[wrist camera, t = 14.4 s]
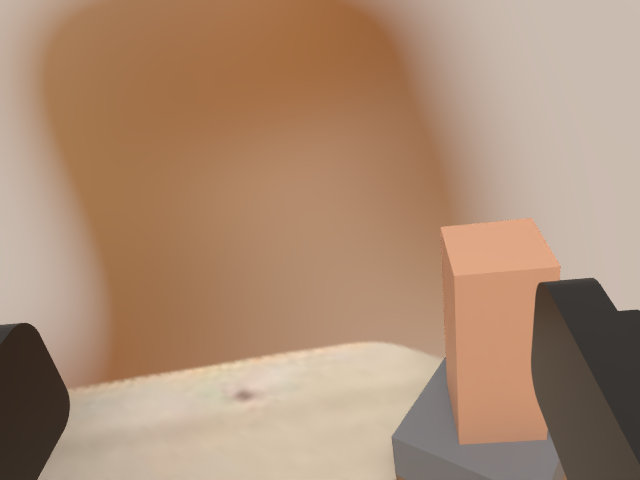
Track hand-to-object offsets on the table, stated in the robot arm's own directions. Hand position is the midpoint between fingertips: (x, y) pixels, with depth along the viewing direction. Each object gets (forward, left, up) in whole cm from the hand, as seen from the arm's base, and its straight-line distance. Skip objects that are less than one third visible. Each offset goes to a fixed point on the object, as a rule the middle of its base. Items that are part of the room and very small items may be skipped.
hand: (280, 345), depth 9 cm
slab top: (-13, +15, -25) cm, 32 cm away
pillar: (-13, +16, -22) cm, 30 cm away
